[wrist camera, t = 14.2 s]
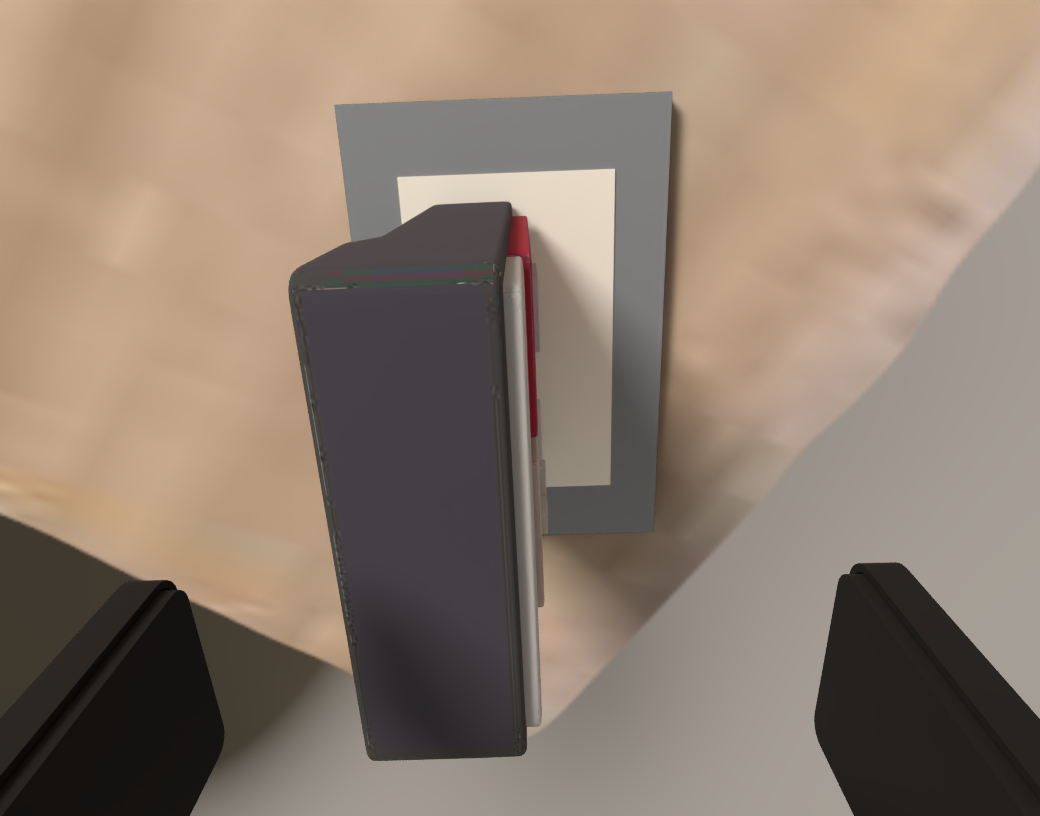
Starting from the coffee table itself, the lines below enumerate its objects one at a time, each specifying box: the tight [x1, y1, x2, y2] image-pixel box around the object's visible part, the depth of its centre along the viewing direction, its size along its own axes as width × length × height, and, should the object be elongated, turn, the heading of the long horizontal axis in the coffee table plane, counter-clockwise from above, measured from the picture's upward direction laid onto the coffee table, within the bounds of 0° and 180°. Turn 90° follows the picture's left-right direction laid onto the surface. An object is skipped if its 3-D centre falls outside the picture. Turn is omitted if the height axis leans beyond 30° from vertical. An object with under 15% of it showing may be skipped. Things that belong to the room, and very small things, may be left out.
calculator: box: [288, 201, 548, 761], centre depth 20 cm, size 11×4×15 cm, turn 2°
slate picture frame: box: [334, 91, 672, 535], centre depth 27 cm, size 12×18×1 cm, turn 2°
